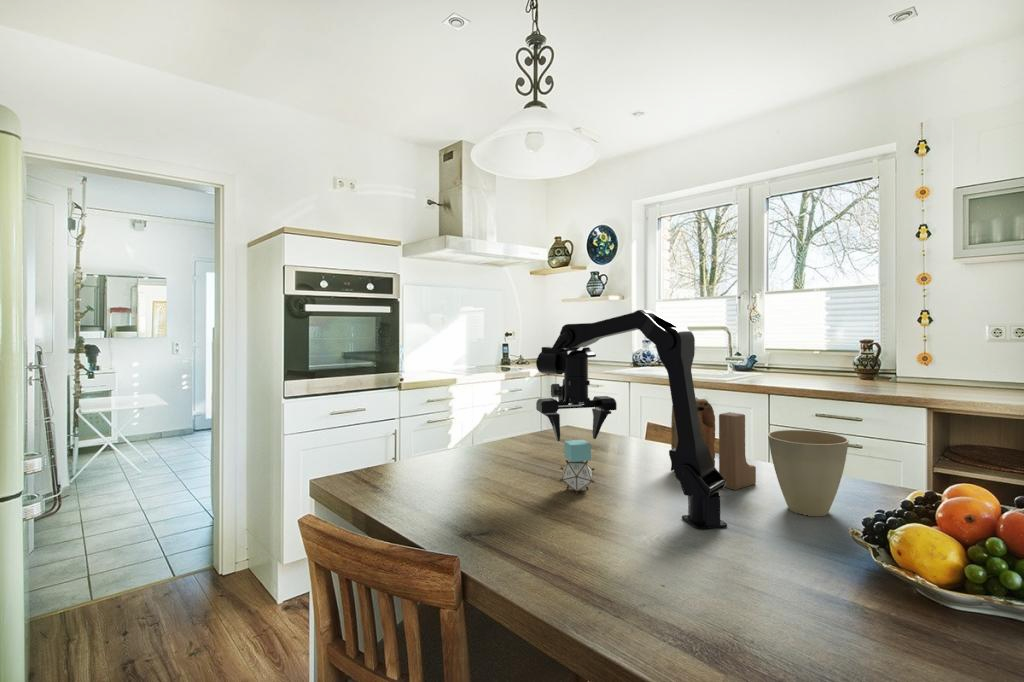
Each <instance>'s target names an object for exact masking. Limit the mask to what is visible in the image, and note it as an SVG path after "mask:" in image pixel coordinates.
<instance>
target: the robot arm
mask: <svg viewBox="0 0 1024 682" xmlns="http://www.w3.org/2000/svg"><path fill="white" fill-rule="evenodd" d="M637 330H639V331H640V332H641V333H642V334H643V336H645V338H646V340H647V339H648V341H650V342H652V344H654V345H655V348H656V351H657V355H658V357H659V360H660V361H661V363H662V365H663V366H664V368H665V370H666V371H667V377H668V384H669V390H670V395H671V404H672V405H673V411H674V418H675V424H676V431H677V438H678V442H677V446H676V448H674V449H672V448H671V449H670V450H669V451H668V456H669V459H670V462H671V467H670V471H672V472H673V474H674V476H675V478H676V480H677V481H679V482H680V486H681V489H682V491H683V495H684V496H687V502H688V503H687V504H688V511H687V512H688V514H683V515H682V516H681V519H683V520H684V521H685V522H686V523H688V524H690V525H691V526H693V527H694V528H696V529H698V530H706V529H707V530H708V529H717V528H725V527H728V523H727V522H726V521H724V520H721V496H720V491H722V490H724V488H725V487H724V486H725V484H726V480H725V478H724V477H723V476H722V475H721V474H720V473H719V470H718V469H717V468H716V467H714V463H713V460H712V457H711V454H710V451H709V449H708V447H707V446H706V444H705V442H704V441H703V439H702V437H701V431H700V425H699V418H698V412H697V405H696V399H695V398H696V393H695V387H694V386H695V385H694V381H693V380H694V379H693V375H692V366H693V363H694V362H693V361H694V358H695V353H696V352H695V350H696V349H695V346H696V343H695V341H696V340H695V339H696V338H695V336H694V334H693V332H692V331H690V330H689V329H688V328H686V327H682V326H681V327H679V326H677V325H676V324H674V323H672V322H671V321H669V320H666V319H665V318H663V317H661V316H659V315H658V314H657V313H655V312H654V311H652V310H649V309H637V310H635V311H634V312H630V313H626V314H623V315H619V316H615V317H611V318H607V319H603V320H600V321H599V320H598V321H595V322H589V323H588V322H586V323H585V322H584V323H566V324H564V325H563V326H562V327H561V330H560V332H559V335H558V337H557V339H556V340H555V342H554V344H553V345H552V346H542V347H541V352H540V353H539V354H538V355H537V359H536V361H535V364H536V369H537V371H538V372H539V373H541V374H547V375H558V376H559V375H560V376H561V375H564V376H563V378H562V385H561V386H560V384H559V383H552V384H551V385H550V397H548V398H546V397H545V398H538V399H537V400H536V403H535V404H536V408H535V410H537V412H539V413H541V414H542V415H544V416H545V417H547V418H548V420H549V422H550V424H551V427H552V431H553V433H554V435H555V438H556V441H557V442H560V441H561V417H560V416H561V415H560V413H558V411H559V410H562V409H563V410H565V409H569V410H570V409H584V408H585V409H588V408H591V411H592V417H593V418H592V439H593V440H596V439H597V438H598V435H599V433H600V431H601V427H602V426H603V424H604V422H605V421H606V419H607V417H608V415H611V414H612V411H616V410H617V408H618V407H617V401H616V399H615V398H614V397H611V396H609V395H599V396H598V395H595V396H594V397H593V398H592V399H591V397H589V386H590V384H591V383H590V381H591V380H589V367H588V366H589V358H596V357H597V355H596V353H595V352H594V351H593V350H591V347H589V346H590V345H593V344H594V343H596V342H598V341H600V340H601V339H604V338H607V337H611V336H616V335H617V336H618V335H620V334H624V333H629V332H633V331H634V332H635V331H637ZM580 348H582V349H581V350H579V349H580ZM555 398H557V399H558V400H557V399H555Z"/></svg>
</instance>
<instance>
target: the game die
mask: <svg viewBox="0 0 1024 682" xmlns="http://www.w3.org/2000/svg"><path fill="white" fill-rule="evenodd" d="M565 463H566V464H565V465H564V467H560V470H562V476H561V477H562V478H560V479H559V480H558V481H559V482H563V483H564V484H566V489H567V490H568V489H572V490H573V491H575V494H576V496H578V494H579V491H581V490H584V489H586V490H589V487H588V486H589V485H590V484H591V483H593V484H594V483H595V480H593V471H595V467H594V468H593V467H590V465H588V463H589V461H579V462H570V461H569V460H568V459H565Z"/></svg>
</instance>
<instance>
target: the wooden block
mask: <svg viewBox="0 0 1024 682" xmlns="http://www.w3.org/2000/svg"><path fill="white" fill-rule="evenodd" d="M718 451H719V452H718V472H719V473H720V474H721V475H722V476H723V477H724V478H725V480H726V484H725V486H724V488H727V489H730V490H733V491H736V490H739V489H742V488H746V487H749V486H752V485H755V484H756V483H757V476H756V475H757V473H756V472H757V471H756V470H757V467H756V466H755V465H754V464H753V465H752V464H748V461H747V458H746V457H747V456H746V415H745V414H744V413H739V412H738V413H736V412H732V411H731V412H724V413H720V414H718Z"/></svg>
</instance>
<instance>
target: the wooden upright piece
mask: <svg viewBox="0 0 1024 682" xmlns="http://www.w3.org/2000/svg"><path fill="white" fill-rule="evenodd" d="M695 399H696V405H697V412H698V418H699V425H700V431H701V437H702V439H703V441H704V442H705V444H706V446H707V447H708V449H709V451H710V454H711V457H712V460H713V463H714V467H715V466H716V460H715V458H716V450H715V441H716V415H715V411H714V409H713V406H712V404H711V403H710V402H709V401H708V400H707V399H705V398H697V397H695ZM670 422H671V425H670V426H671V427H670V428H671V429H670V431H671V436H670V437H671V438H670V439H671V440H670V441H671V442H670V443H671V445H670V447H671V450H672V449H674V448H676V446H677V442H678V438H677V431H676V424H675V418H674V411H673V404H672V406H671V421H670ZM715 468H716V467H715Z"/></svg>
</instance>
